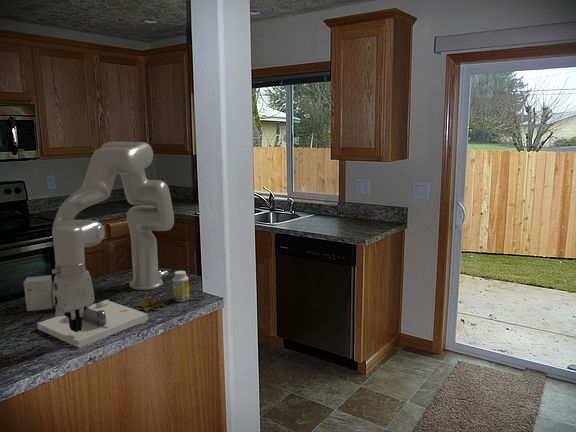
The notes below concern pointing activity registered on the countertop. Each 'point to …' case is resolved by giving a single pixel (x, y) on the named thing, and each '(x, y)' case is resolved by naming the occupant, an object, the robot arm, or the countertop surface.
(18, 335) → the countertop surface
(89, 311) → the grey knobbed bar
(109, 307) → the base
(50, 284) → the small box
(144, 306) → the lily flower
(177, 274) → the supplement bottle
